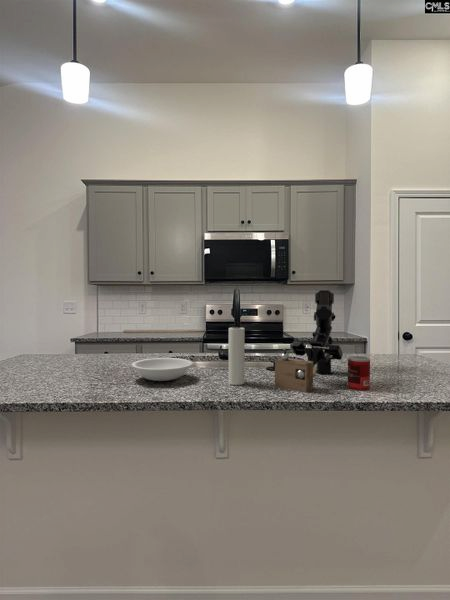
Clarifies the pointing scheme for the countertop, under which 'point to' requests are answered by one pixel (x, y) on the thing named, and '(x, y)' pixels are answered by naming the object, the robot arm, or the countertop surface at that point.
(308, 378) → the mount
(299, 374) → the knob
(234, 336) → the paper towel roll
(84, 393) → the countertop surface
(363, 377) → the canned food
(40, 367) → the countertop surface
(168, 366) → the soup bowl
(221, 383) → the countertop surface
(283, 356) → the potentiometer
